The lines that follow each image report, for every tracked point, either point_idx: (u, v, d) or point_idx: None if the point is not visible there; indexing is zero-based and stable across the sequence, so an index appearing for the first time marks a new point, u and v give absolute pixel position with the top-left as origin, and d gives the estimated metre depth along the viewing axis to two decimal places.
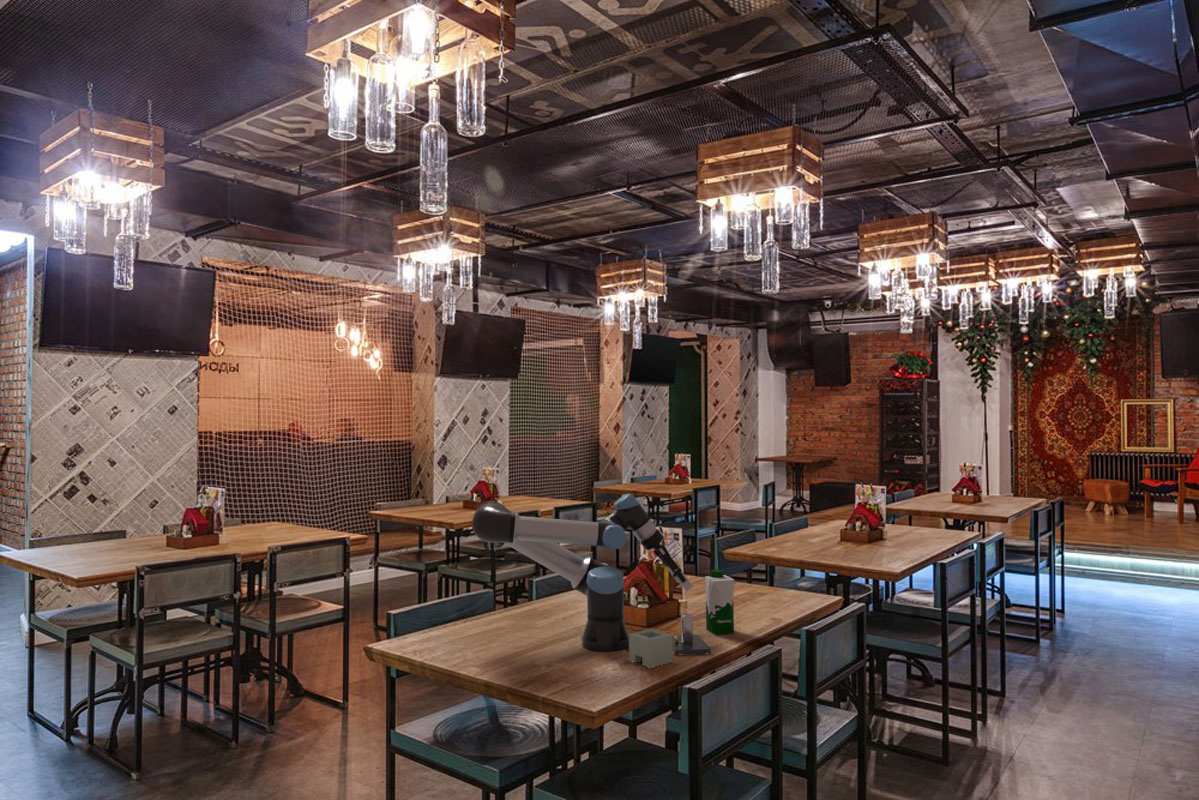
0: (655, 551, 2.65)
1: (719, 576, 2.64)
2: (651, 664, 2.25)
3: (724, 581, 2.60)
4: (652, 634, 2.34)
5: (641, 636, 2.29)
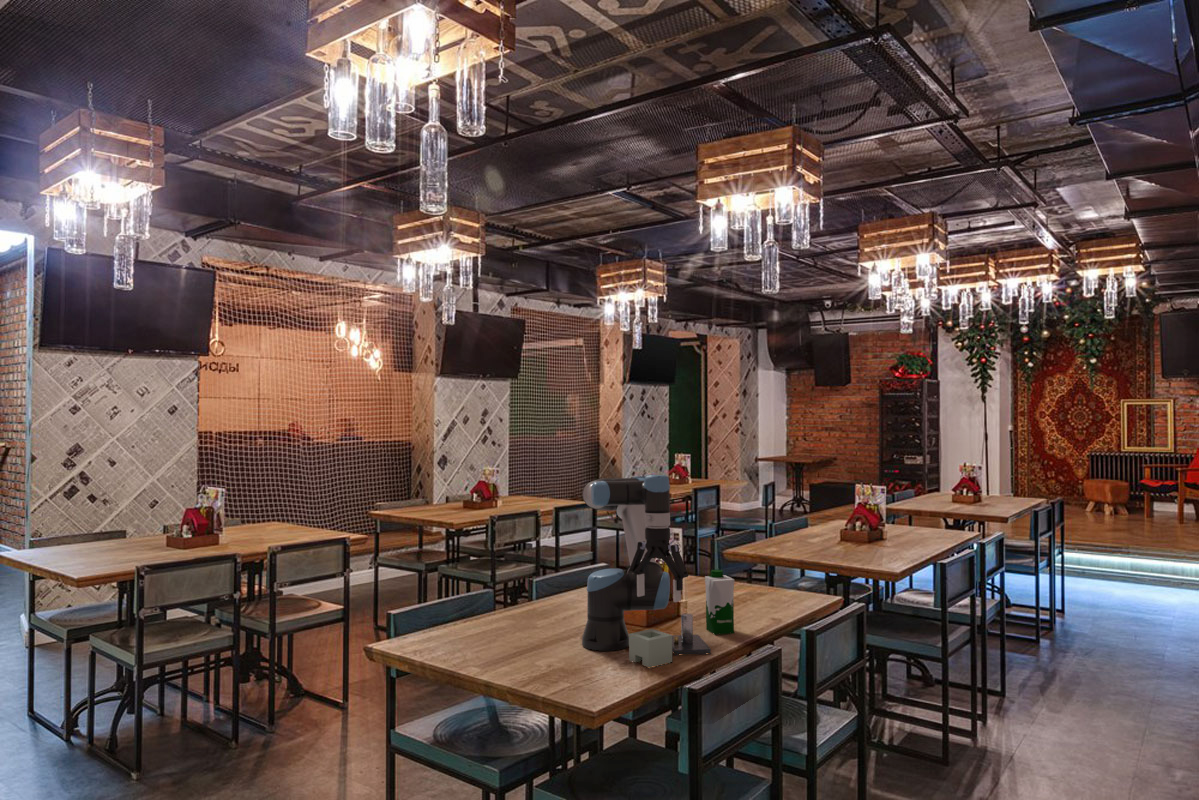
0: None
1: (719, 576, 2.64)
2: (651, 664, 2.25)
3: (724, 581, 2.60)
4: (652, 634, 2.34)
5: (641, 636, 2.29)
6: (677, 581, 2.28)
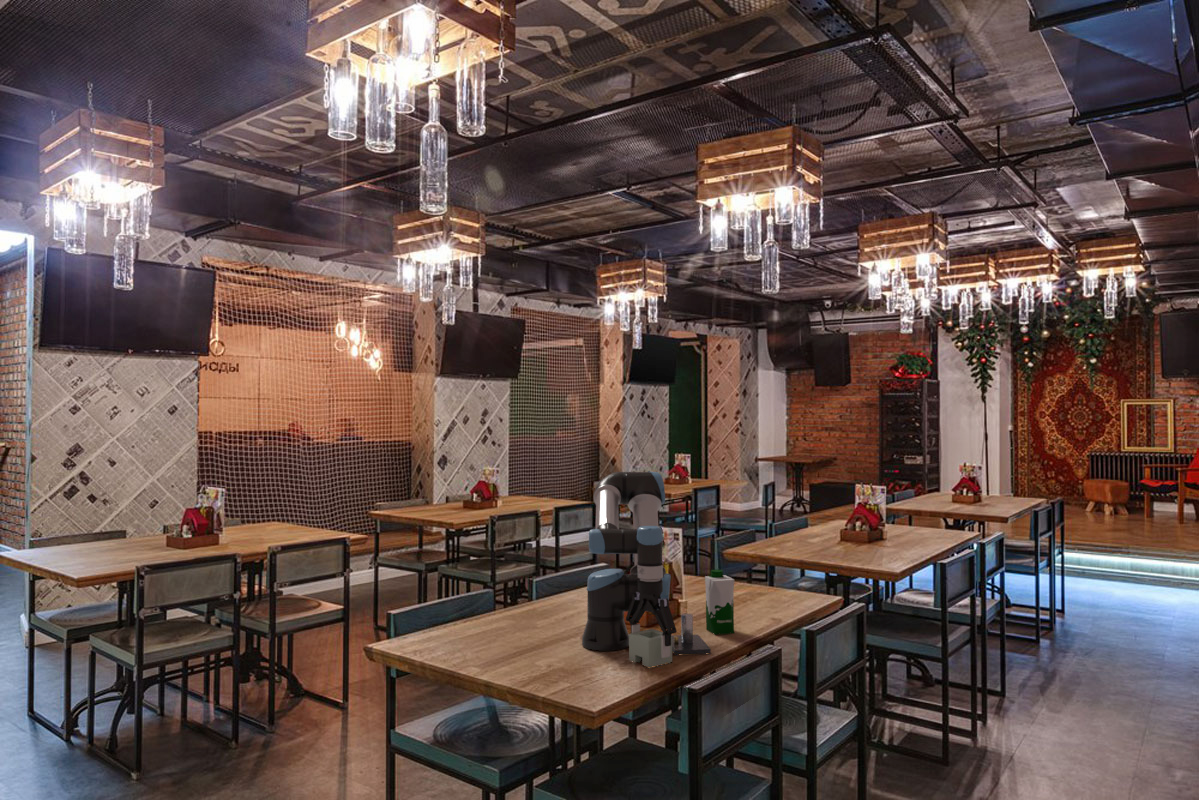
0: None
1: (719, 576, 2.64)
2: (651, 664, 2.25)
3: (724, 581, 2.60)
4: (652, 634, 2.34)
5: (641, 636, 2.29)
6: (665, 636, 2.24)
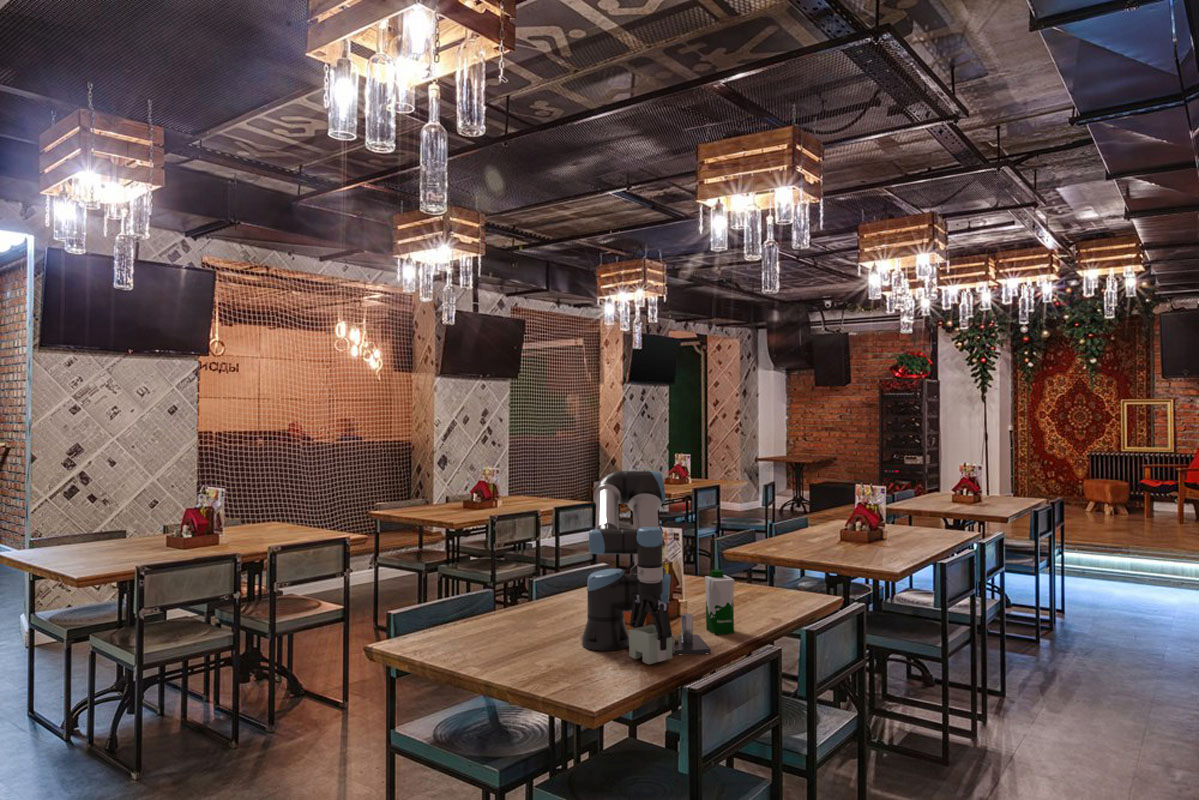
0: None
1: (719, 576, 2.64)
2: (651, 660, 2.26)
3: (724, 581, 2.60)
4: (652, 630, 2.35)
5: (641, 632, 2.29)
6: (661, 641, 2.27)
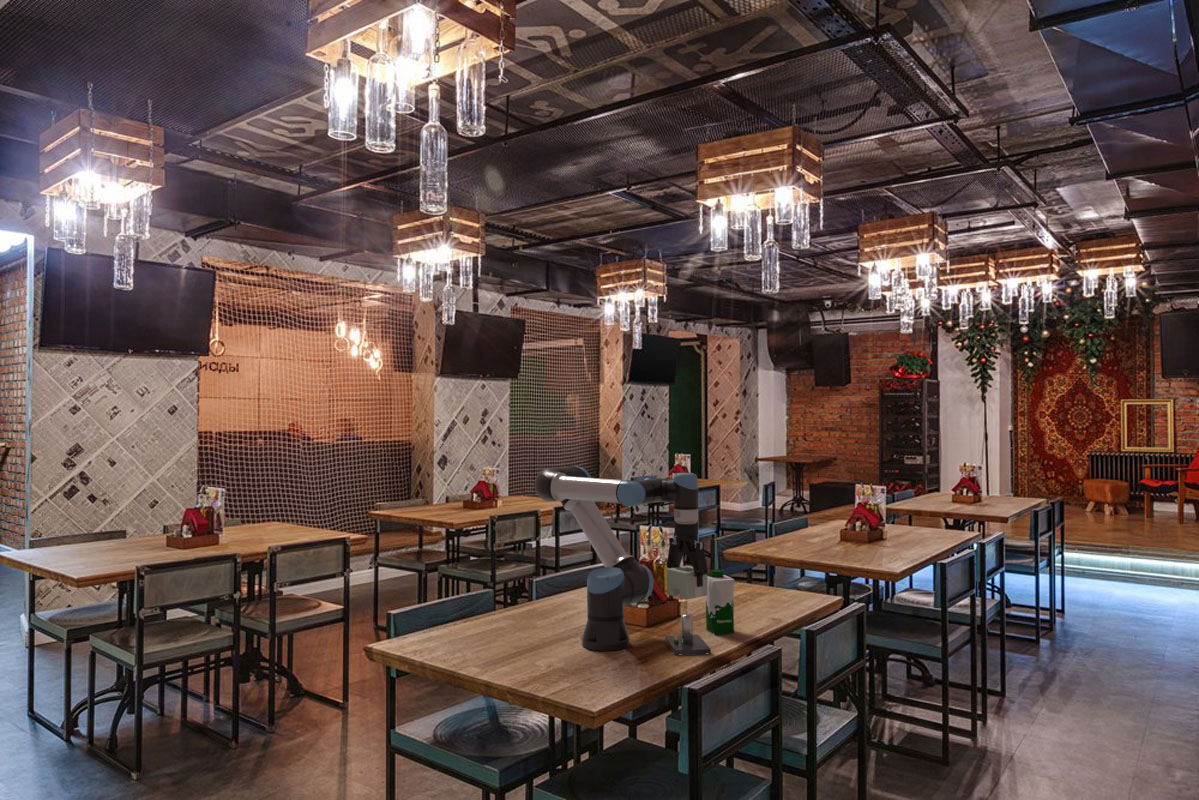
0: None
1: (719, 576, 2.64)
2: (688, 595, 2.40)
3: (724, 581, 2.60)
4: (688, 570, 2.49)
5: (678, 570, 2.44)
6: (697, 578, 2.41)
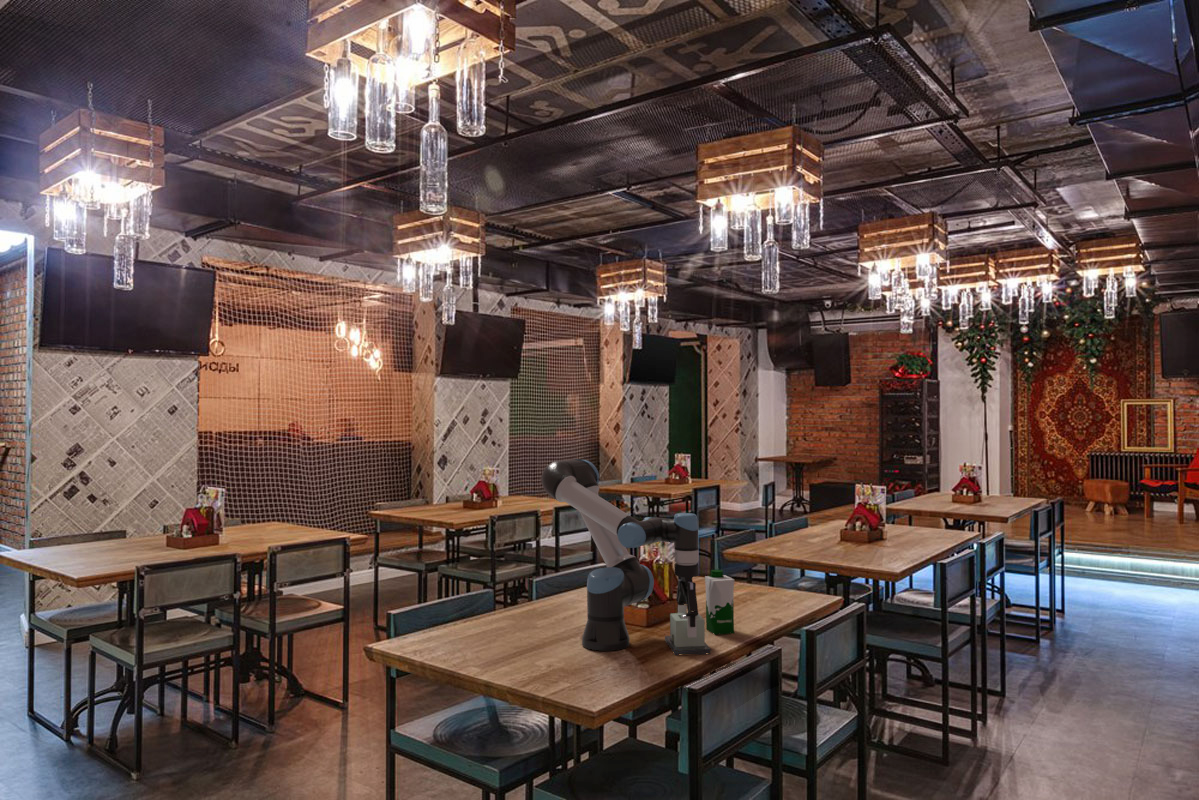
0: None
1: (719, 576, 2.64)
2: (679, 643, 2.41)
3: (724, 581, 2.60)
4: None
5: (676, 617, 2.45)
6: (690, 618, 2.38)
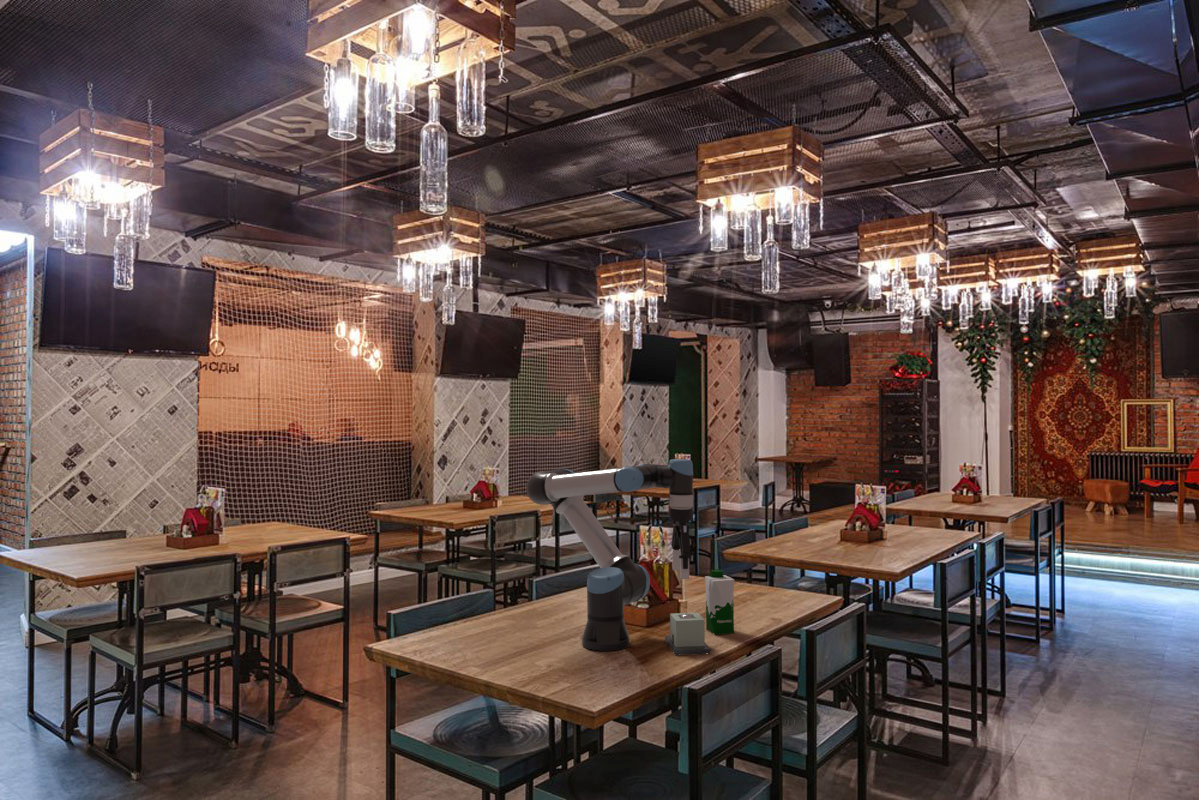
0: None
1: (719, 576, 2.64)
2: (679, 643, 2.41)
3: (724, 581, 2.60)
4: (693, 617, 2.48)
5: (676, 617, 2.45)
6: (683, 560, 2.42)
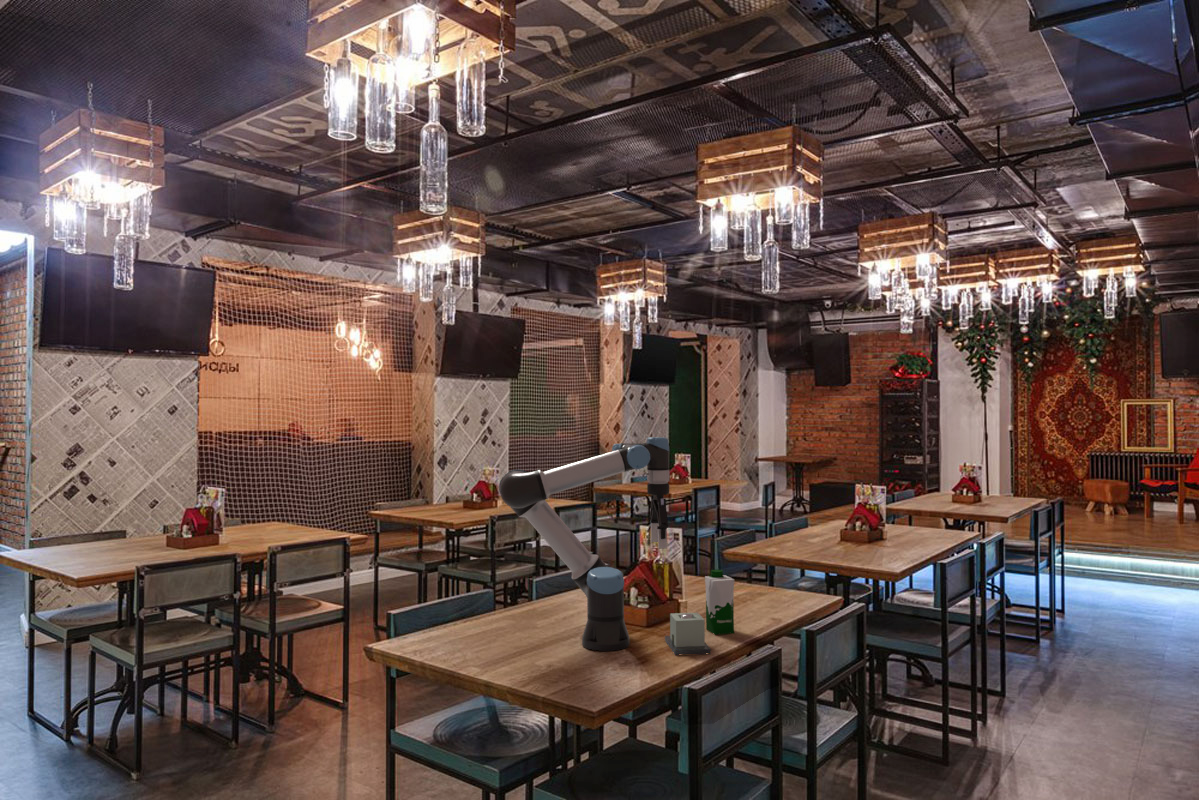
0: None
1: (719, 576, 2.64)
2: (679, 643, 2.41)
3: (724, 581, 2.60)
4: (693, 617, 2.48)
5: (676, 617, 2.45)
6: (660, 530, 2.58)
